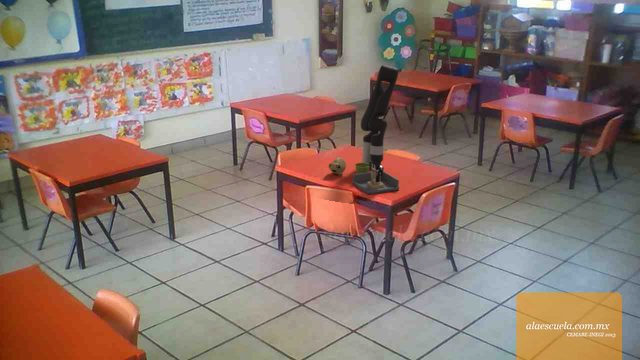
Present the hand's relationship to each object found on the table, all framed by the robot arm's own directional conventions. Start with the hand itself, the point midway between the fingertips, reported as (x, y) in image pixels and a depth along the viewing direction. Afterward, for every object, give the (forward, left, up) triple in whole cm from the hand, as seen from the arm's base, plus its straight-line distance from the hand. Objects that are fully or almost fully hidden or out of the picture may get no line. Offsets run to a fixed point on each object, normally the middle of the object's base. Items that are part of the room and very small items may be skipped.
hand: (375, 180), depth 349 cm
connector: (0, 0, -3) cm, 3 cm away
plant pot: (-17, 0, -4) cm, 18 cm away
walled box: (0, 0, -4) cm, 4 cm away
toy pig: (-30, -11, -4) cm, 32 cm away
